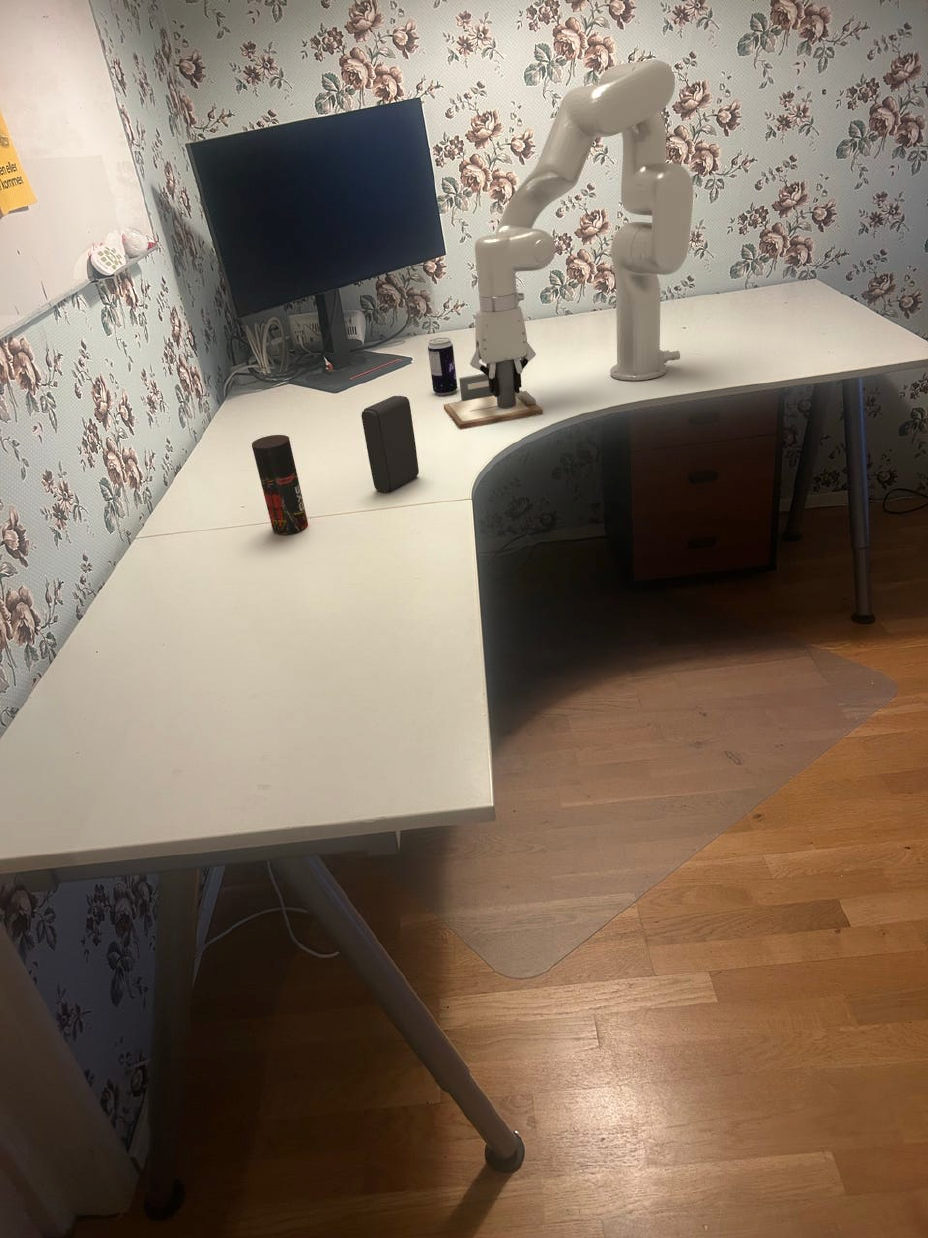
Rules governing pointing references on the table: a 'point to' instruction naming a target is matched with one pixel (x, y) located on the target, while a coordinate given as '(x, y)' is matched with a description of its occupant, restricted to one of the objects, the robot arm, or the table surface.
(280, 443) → the deodorant
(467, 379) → the bar
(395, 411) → the dark grey rounded block
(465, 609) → the table surface
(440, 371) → the beverage can
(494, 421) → the clipboard
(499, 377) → the marker
